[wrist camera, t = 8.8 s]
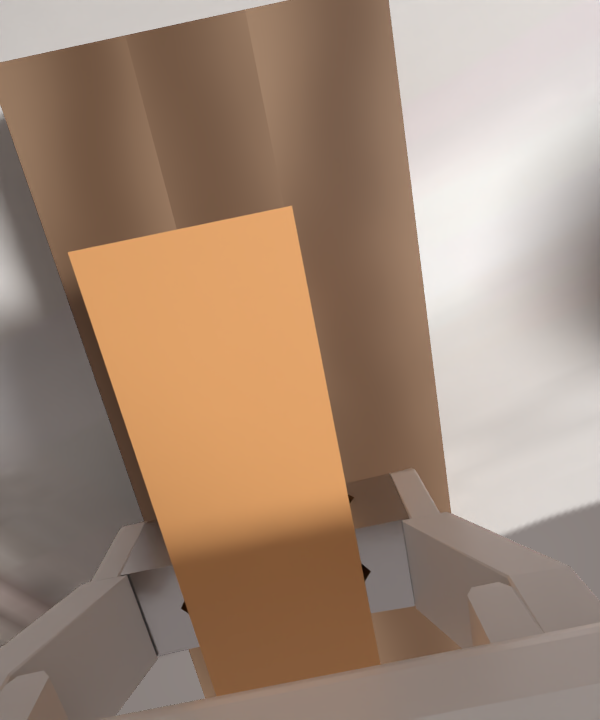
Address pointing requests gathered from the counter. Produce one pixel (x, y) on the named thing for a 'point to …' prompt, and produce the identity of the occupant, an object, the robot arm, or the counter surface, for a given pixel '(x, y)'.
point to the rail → (256, 205)
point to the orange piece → (236, 442)
